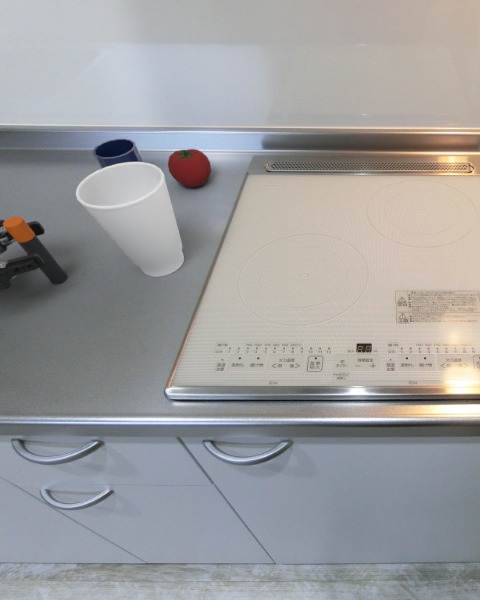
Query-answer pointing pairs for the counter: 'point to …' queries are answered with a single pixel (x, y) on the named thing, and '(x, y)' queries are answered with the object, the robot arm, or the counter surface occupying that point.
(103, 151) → the pen pot
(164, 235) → the cup
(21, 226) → the marker
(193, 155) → the tomato
